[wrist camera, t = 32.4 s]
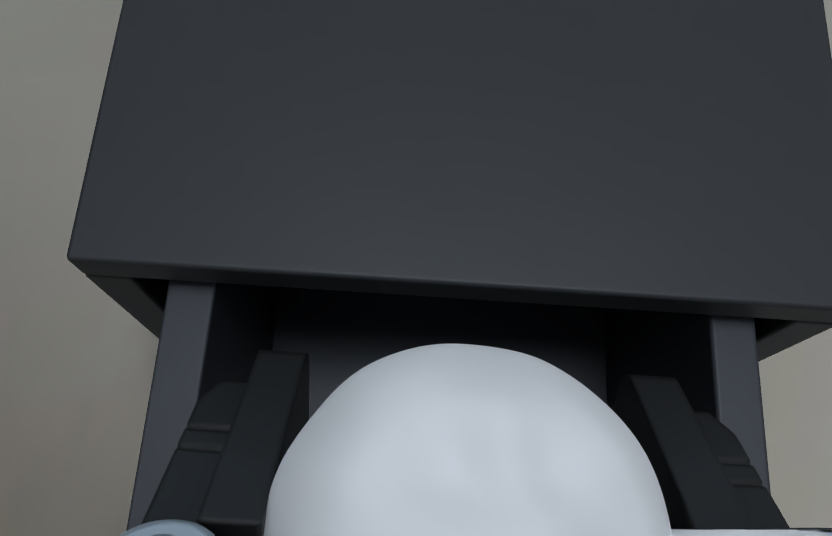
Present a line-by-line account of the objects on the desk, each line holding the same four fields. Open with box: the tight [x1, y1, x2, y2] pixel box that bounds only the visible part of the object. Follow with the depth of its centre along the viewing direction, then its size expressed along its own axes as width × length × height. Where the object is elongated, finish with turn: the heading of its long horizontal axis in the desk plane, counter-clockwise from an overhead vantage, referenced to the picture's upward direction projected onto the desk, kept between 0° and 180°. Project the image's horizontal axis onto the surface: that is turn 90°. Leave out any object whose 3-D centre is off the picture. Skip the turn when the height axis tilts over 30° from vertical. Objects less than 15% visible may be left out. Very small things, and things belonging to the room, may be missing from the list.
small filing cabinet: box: [67, 0, 832, 361], centre depth 19 cm, size 15×13×10 cm
